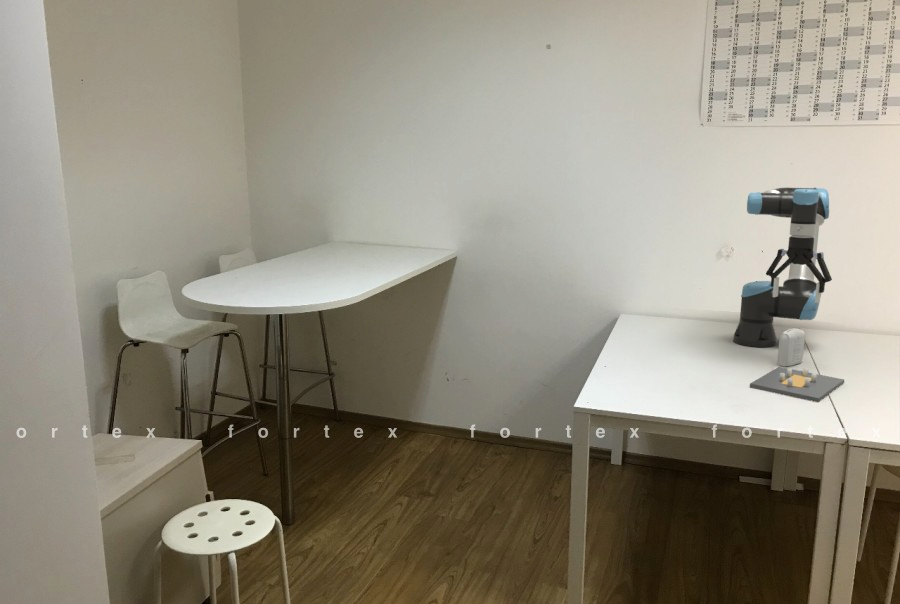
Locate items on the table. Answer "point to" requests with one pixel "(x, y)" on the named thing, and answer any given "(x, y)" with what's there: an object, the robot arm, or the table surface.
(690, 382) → the table surface
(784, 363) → the photo printer
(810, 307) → the robot arm
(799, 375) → the pin tray
